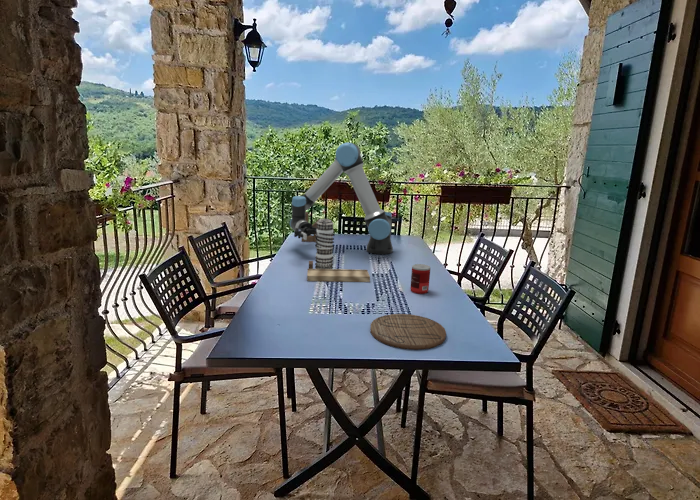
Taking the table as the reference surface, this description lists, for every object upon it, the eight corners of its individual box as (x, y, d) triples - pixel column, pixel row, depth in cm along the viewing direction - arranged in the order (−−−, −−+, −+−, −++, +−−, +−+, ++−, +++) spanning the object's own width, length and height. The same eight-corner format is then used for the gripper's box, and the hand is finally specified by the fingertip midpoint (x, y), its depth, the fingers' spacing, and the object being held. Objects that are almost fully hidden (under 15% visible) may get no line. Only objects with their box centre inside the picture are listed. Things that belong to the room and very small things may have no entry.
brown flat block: (312, 268, 214) (313, 260, 213) (312, 272, 208) (313, 264, 207) (308, 268, 213) (308, 260, 212) (308, 272, 208) (308, 264, 207)
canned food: (429, 289, 190) (431, 265, 187) (426, 295, 183) (428, 270, 180) (412, 287, 192) (414, 263, 190) (408, 292, 185) (410, 267, 182)
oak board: (366, 274, 208) (367, 269, 207) (369, 282, 197) (369, 276, 196) (307, 273, 205) (307, 268, 204) (307, 281, 194) (307, 275, 194)
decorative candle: (337, 271, 211) (339, 220, 205) (323, 274, 205) (324, 222, 199) (324, 267, 217) (325, 217, 211) (310, 270, 211) (311, 219, 205)
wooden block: (319, 242, 270) (319, 213, 266) (301, 241, 269) (302, 212, 265) (319, 240, 274) (319, 212, 269) (301, 240, 273) (302, 211, 269)
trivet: (455, 351, 135) (456, 345, 134) (375, 350, 133) (375, 345, 132) (434, 319, 159) (434, 314, 159) (366, 318, 157) (366, 313, 157)
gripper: (325, 233, 240) (341, 242, 221) (281, 236, 229) (294, 245, 211) (326, 220, 238) (342, 227, 220) (281, 222, 227) (295, 230, 209)
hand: (319, 236), depth 215 cm, fingers open, 13 cm apart
